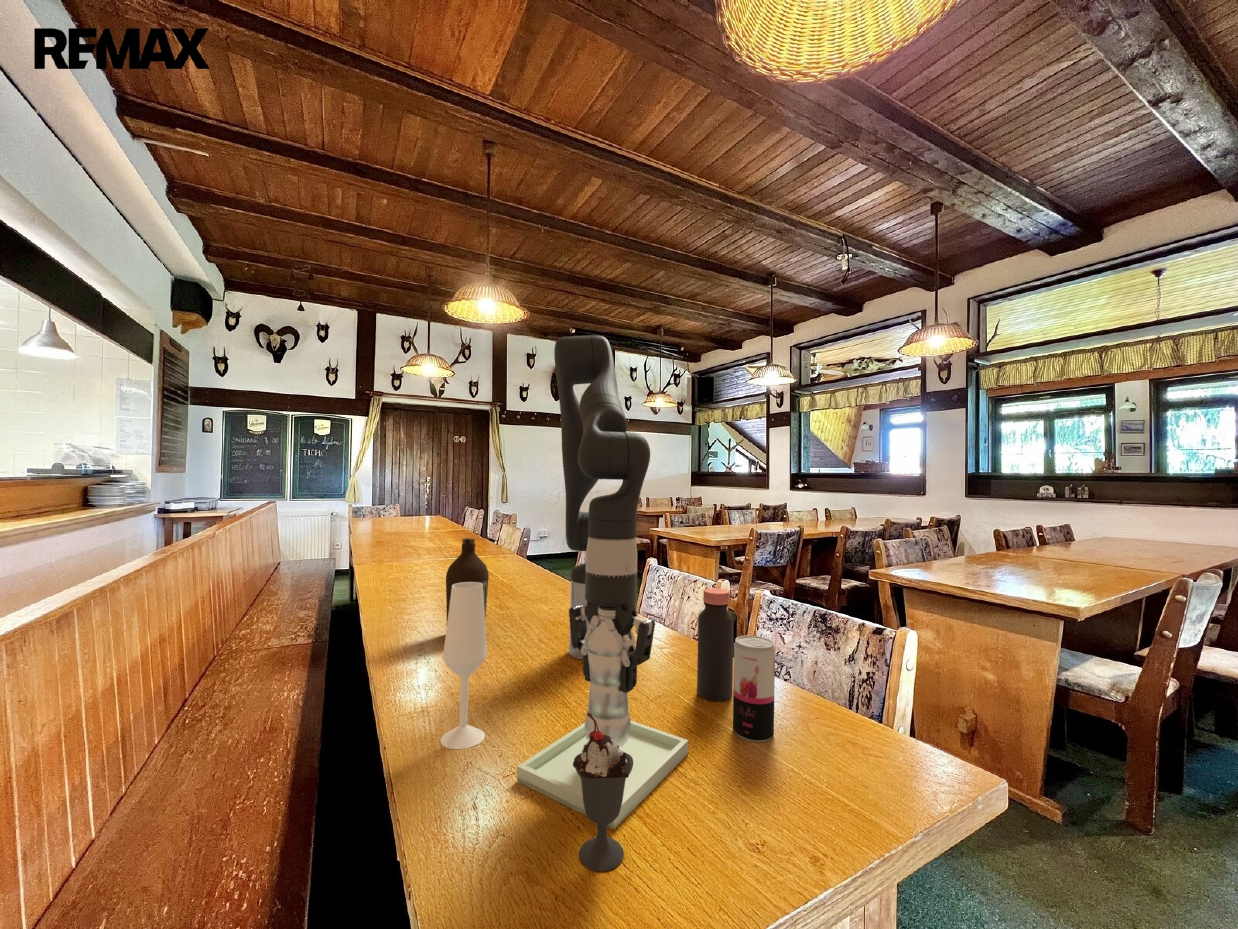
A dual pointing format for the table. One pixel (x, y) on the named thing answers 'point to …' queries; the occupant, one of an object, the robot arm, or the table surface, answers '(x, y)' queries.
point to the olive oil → (467, 571)
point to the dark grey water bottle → (715, 647)
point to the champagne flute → (465, 653)
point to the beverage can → (754, 688)
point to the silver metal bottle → (607, 682)
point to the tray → (645, 746)
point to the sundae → (602, 796)
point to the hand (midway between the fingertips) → (608, 684)
